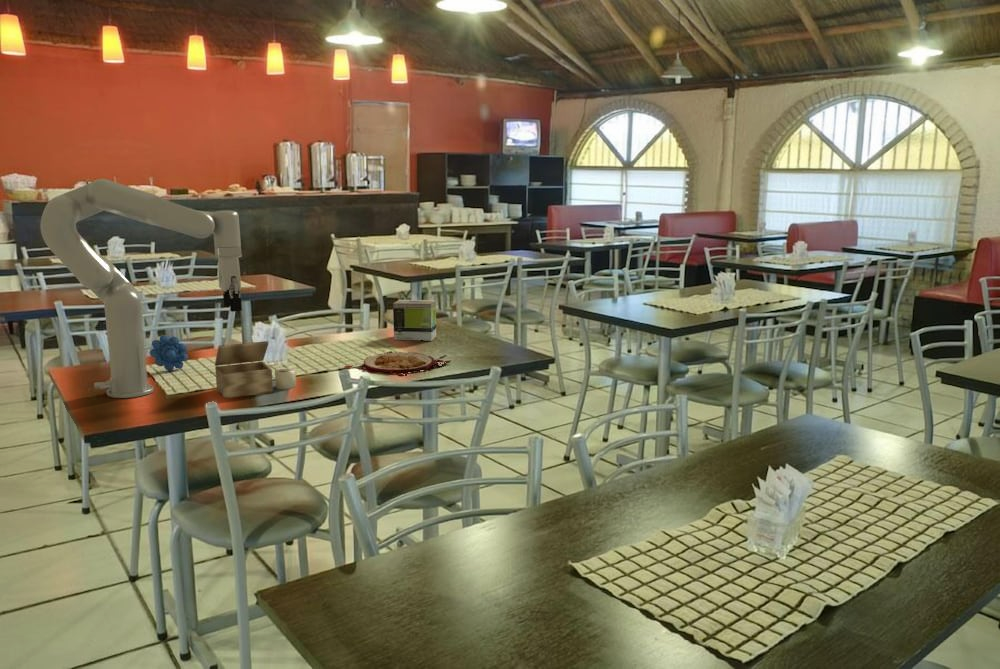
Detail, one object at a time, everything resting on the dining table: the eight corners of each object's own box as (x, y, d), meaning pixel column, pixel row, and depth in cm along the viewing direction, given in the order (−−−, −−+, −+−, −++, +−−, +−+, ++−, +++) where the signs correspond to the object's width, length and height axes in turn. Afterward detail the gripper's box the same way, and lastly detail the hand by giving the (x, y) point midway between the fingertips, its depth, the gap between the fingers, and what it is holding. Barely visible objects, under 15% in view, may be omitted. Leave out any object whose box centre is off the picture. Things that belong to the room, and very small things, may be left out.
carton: (223, 398, 235) (222, 374, 234) (216, 389, 244) (215, 366, 243) (272, 392, 242) (271, 369, 240) (264, 383, 251) (262, 361, 250)
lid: (219, 348, 234) (218, 345, 234) (215, 365, 243) (214, 363, 243) (268, 343, 241) (268, 341, 241) (263, 360, 249) (262, 358, 250)
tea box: (436, 336, 323) (436, 299, 320) (431, 341, 313) (431, 303, 310) (399, 335, 325) (399, 298, 322) (393, 340, 315) (392, 302, 312)
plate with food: (390, 356, 292) (390, 346, 291) (451, 364, 278) (450, 354, 277) (343, 371, 272) (342, 361, 271) (405, 380, 258) (404, 369, 257)
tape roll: (278, 390, 244) (277, 373, 243) (273, 385, 249) (272, 369, 248) (298, 387, 247) (297, 371, 246) (293, 383, 252) (292, 367, 251)
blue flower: (154, 375, 259) (151, 338, 257) (149, 371, 265) (146, 335, 263) (192, 371, 266) (189, 334, 263) (187, 366, 271) (184, 331, 269)
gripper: (210, 250, 250) (214, 305, 254) (220, 256, 236) (225, 314, 239) (235, 249, 254) (239, 303, 257) (247, 254, 239) (251, 311, 243)
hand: (232, 308), depth 248 cm, fingers open, 9 cm apart
